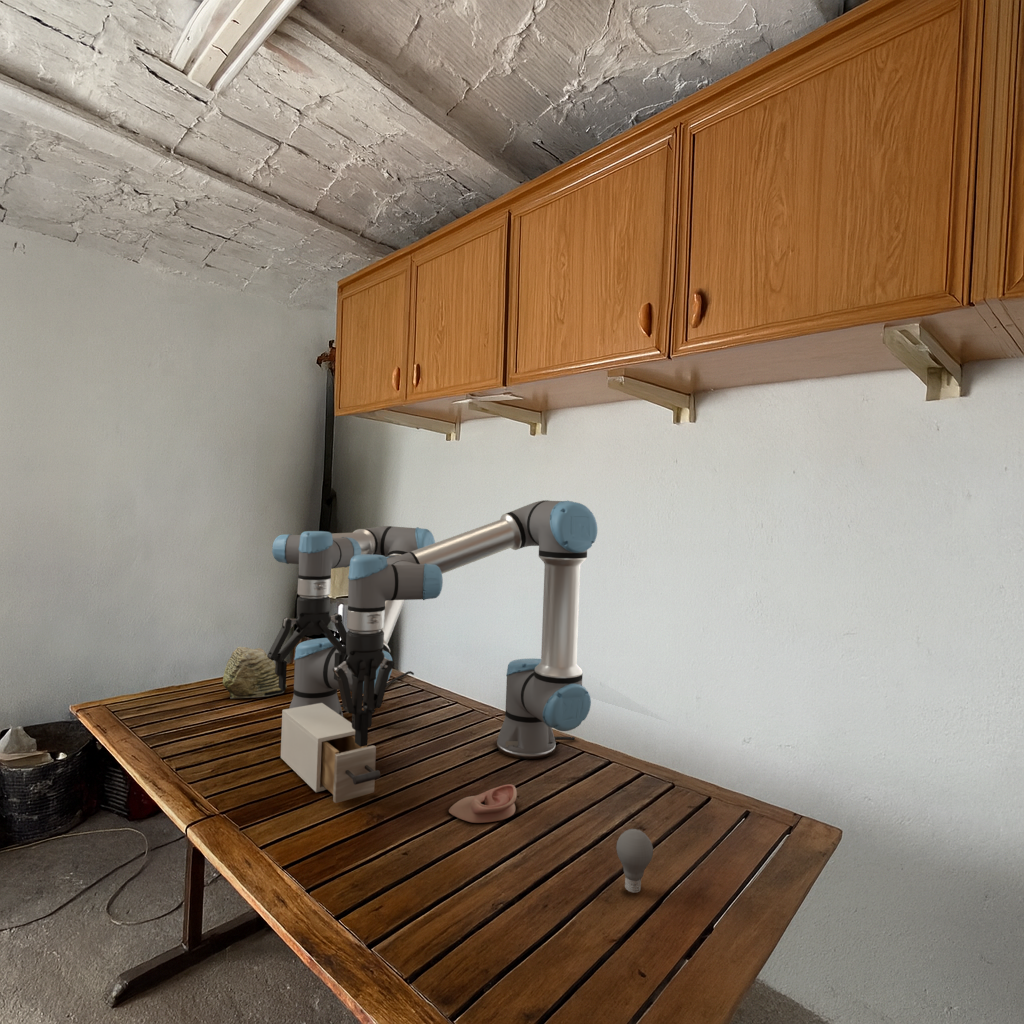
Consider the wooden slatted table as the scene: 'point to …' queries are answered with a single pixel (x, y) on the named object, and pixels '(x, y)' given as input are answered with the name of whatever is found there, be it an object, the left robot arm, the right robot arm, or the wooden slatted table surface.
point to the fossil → (251, 674)
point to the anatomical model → (487, 805)
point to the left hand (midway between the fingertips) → (310, 684)
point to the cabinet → (310, 739)
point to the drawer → (348, 768)
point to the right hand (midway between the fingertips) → (361, 743)
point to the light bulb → (634, 857)
